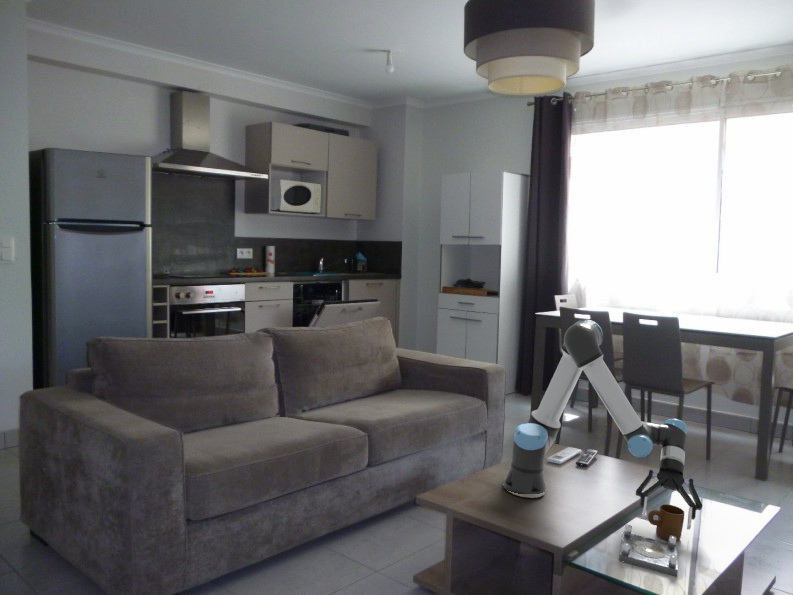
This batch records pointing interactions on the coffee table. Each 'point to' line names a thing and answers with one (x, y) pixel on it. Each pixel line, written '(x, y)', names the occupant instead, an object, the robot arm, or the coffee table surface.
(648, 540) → the chassis
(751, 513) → the coffee table surface
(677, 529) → the mug
